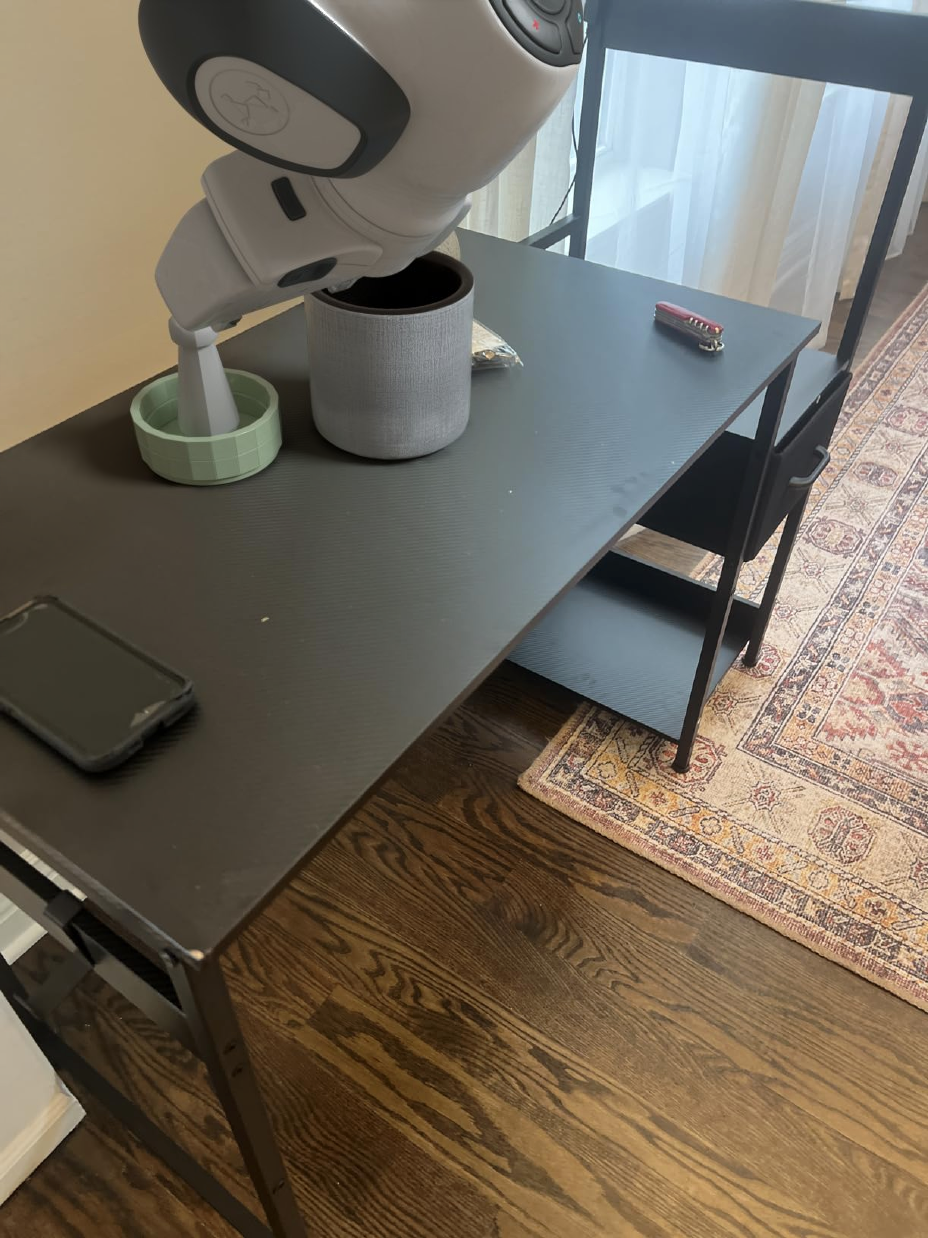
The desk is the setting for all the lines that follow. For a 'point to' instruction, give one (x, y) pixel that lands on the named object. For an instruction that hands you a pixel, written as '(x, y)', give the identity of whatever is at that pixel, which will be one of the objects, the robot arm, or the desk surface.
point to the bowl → (213, 454)
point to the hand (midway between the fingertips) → (277, 299)
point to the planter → (393, 359)
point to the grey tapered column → (202, 384)
